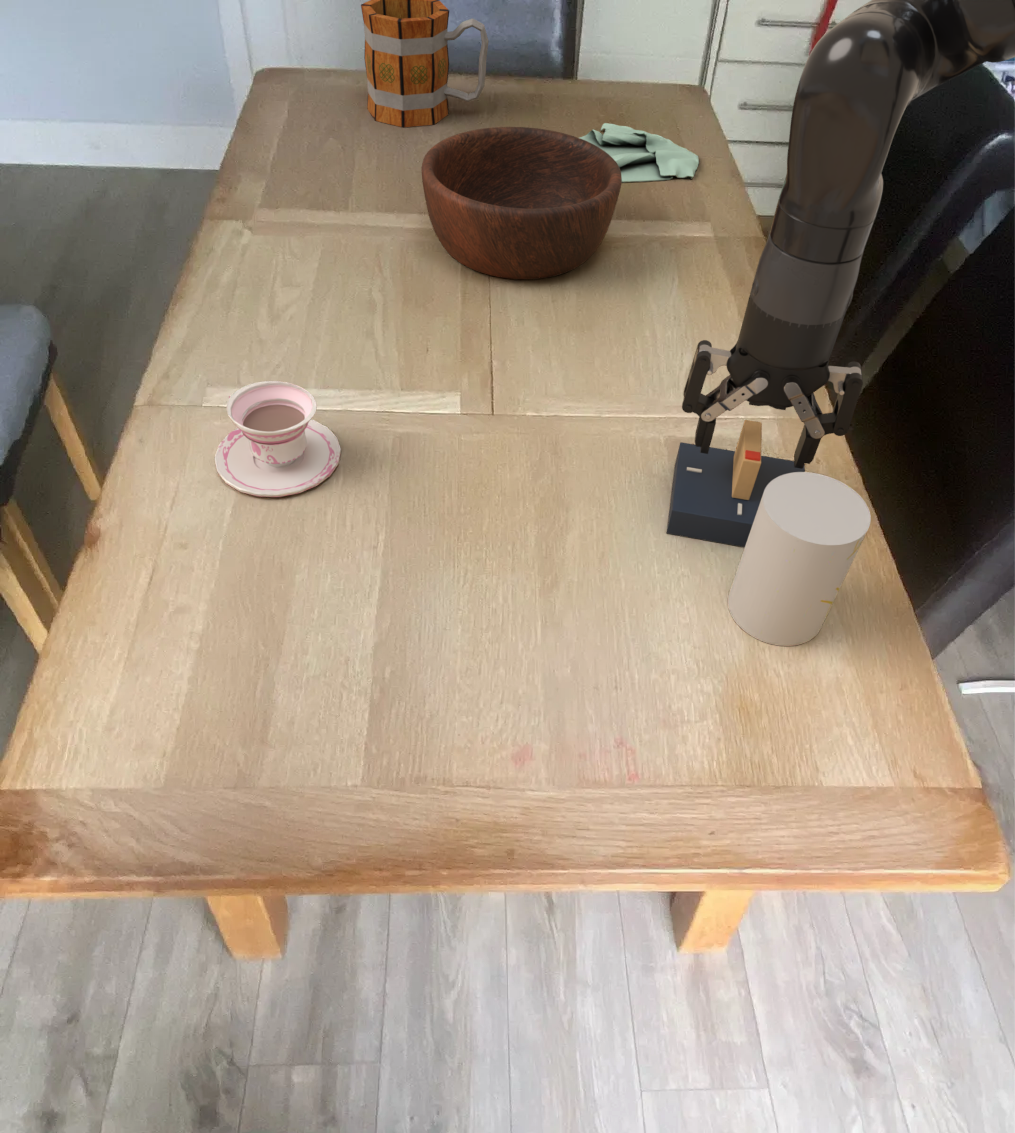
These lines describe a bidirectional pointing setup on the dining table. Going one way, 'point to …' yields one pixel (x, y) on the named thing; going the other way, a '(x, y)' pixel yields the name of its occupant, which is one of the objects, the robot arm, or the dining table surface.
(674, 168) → the cloth
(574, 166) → the wooden bowl
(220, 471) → the teacup
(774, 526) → the beige solid cylinder
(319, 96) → the dining table surface
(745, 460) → the tan rectangular block
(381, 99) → the mug
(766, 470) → the console
